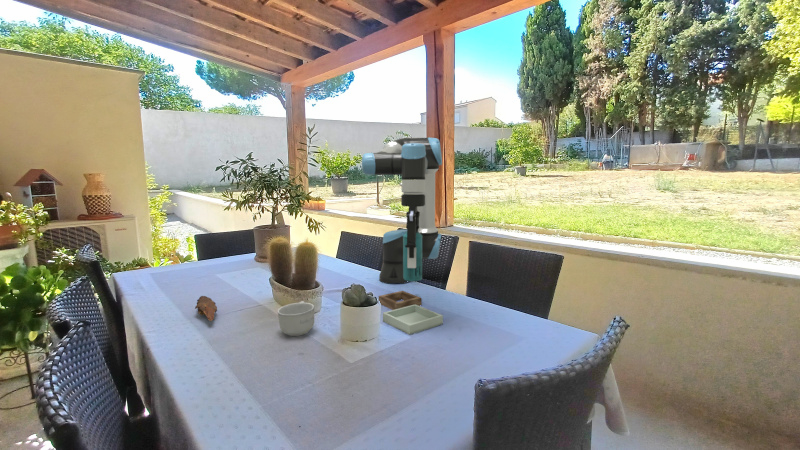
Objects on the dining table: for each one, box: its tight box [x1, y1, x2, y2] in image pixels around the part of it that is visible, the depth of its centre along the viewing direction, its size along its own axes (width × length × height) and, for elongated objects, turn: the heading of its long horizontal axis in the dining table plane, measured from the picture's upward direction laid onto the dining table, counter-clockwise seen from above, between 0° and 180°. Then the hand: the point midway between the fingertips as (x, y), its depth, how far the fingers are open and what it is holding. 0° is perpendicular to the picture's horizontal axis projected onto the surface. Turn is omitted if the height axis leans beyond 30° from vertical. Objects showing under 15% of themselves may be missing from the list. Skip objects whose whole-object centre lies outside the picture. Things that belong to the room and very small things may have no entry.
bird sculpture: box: [194, 295, 218, 322], centre depth 132 cm, size 7×25×5 cm, turn 36°
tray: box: [382, 304, 444, 336], centre depth 126 cm, size 14×14×3 cm
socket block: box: [378, 290, 423, 311], centre depth 144 cm, size 12×12×3 cm
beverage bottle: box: [403, 222, 424, 282], centre depth 123 cm, size 6×7×20 cm
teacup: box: [277, 300, 315, 337], centre depth 119 cm, size 14×11×8 cm
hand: (412, 265), depth 124 cm, fingers closed on beverage bottle, 6 cm apart
